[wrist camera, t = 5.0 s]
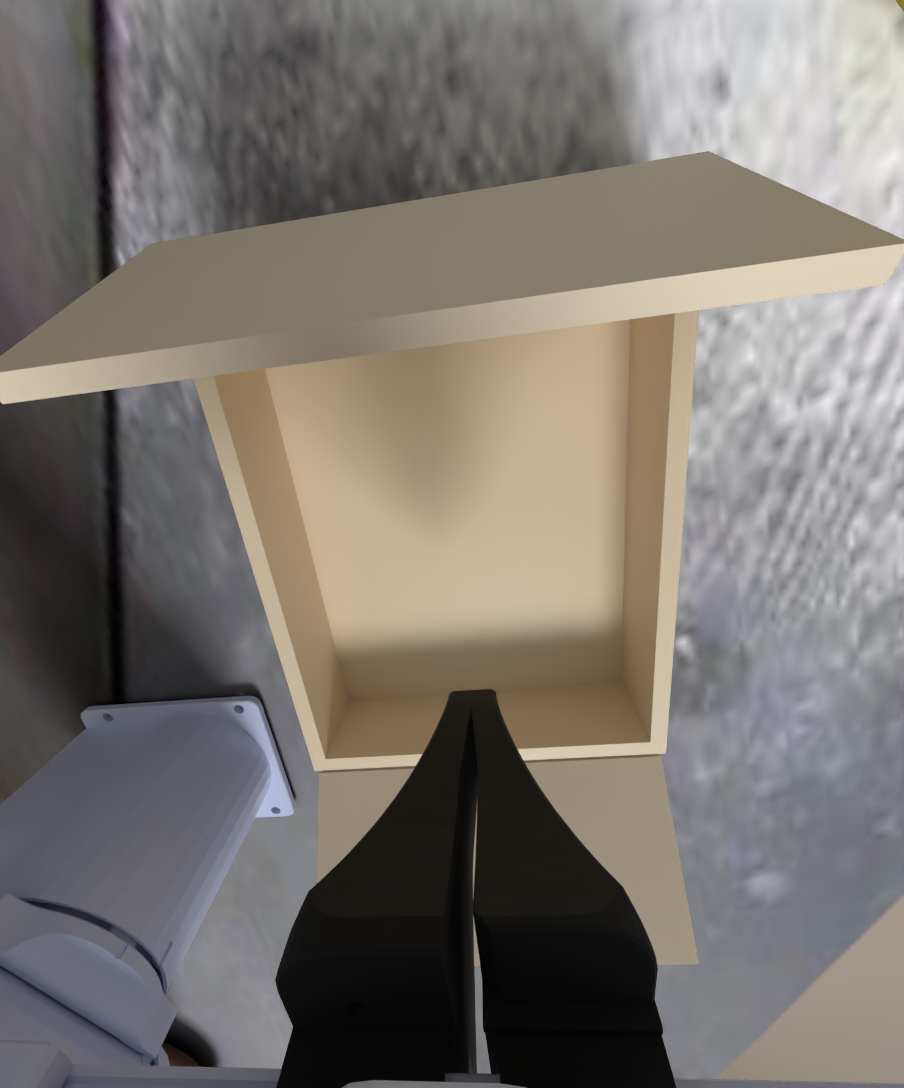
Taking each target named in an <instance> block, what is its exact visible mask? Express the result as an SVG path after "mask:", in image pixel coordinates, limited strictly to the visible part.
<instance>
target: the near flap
mask: <svg viewBox="0 0 904 1088" xmlns="http://www.w3.org/2000/svg"><path fill="white" fill-rule="evenodd" d="M903 254H904V239H901V238H899V237H897V236H895V235H892V234H890V233H888V232H886V231H884V230H881V229H879V228H877V227H875V226H873V225H870V224H868V223H866V222H864V221H862V220H859V219H857V218H855V217H853V216H850V215H848V214H846V213H844V212H842V211H839V210H837V209H835V208H833V207H831V206H828V205H826V204H824V203H822V202H819V201H817V200H815V199H813V198H811V197H808V196H806V195H804V194H802V193H800V192H797V191H795V190H793V189H791V188H789V187H786V186H784V185H782V184H780V183H777V182H775V181H773V180H771V179H769V178H766V177H764V176H762V175H760V174H758V173H755V172H753V171H751V170H749V169H747V168H744V167H742V166H740V165H738V164H735V163H733V162H731V161H729V160H727V159H724V158H722V157H720V156H718V155H716V154H713V153H711V152H709V151H708V152H702V153H696V154H690V155H684V156H678V157H672V158H666V159H660V160H654V161H648V162H642V163H636V164H630V165H623V166H617V167H611V168H605V169H599V170H593V171H587V172H581V173H575V174H569V175H563V176H557V177H551V178H545V179H539V180H533V181H527V182H521V183H515V184H509V185H503V186H497V187H491V188H485V189H479V190H473V191H467V192H461V193H455V194H449V195H443V196H437V197H431V198H425V199H419V200H412V201H406V202H400V203H394V204H388V205H382V206H376V207H370V208H364V209H358V210H352V211H346V212H340V213H334V214H328V215H322V216H316V217H310V218H304V219H298V220H292V221H286V222H280V223H274V224H268V225H262V226H256V227H250V228H244V229H238V230H232V231H226V232H220V233H214V234H208V235H201V236H195V237H189V238H183V239H177V240H171V241H165V242H159V243H153V244H151V245H149V246H148V247H147V248H145V249H144V250H143V251H141V252H140V253H139V254H137V255H136V256H135V257H133V258H132V259H131V260H129V261H128V262H126V263H125V264H124V265H122V266H121V267H120V268H118V269H117V270H116V271H114V272H113V273H112V274H110V275H109V276H108V277H106V278H105V279H104V280H102V281H101V282H99V283H98V284H97V285H95V286H94V287H93V288H91V289H90V290H89V291H87V292H86V293H85V294H83V295H82V296H81V297H79V298H78V299H77V300H75V301H74V302H73V303H71V304H70V305H68V306H67V307H66V308H64V309H63V310H62V311H60V312H59V313H58V314H56V315H55V316H54V317H52V318H51V319H50V320H48V321H47V322H46V323H44V324H43V325H42V326H40V327H39V328H37V329H36V330H35V331H33V332H32V333H31V334H29V335H28V336H27V337H25V338H24V339H23V340H21V341H20V342H19V343H17V344H16V345H15V346H13V347H12V348H11V349H9V350H8V351H6V352H5V353H4V354H2V355H1V356H0V402H1V403H2V404H8V403H16V402H23V401H31V400H38V399H45V398H53V397H60V396H68V395H75V394H82V393H90V392H97V391H104V390H112V389H119V388H127V387H134V386H141V385H149V384H156V383H164V382H171V381H178V380H186V379H193V378H200V377H208V376H215V375H223V374H230V373H237V372H245V371H252V370H260V369H267V368H274V367H282V366H289V365H296V364H304V363H311V362H319V361H326V360H333V359H341V358H348V357H356V356H363V355H370V354H378V353H385V352H392V351H400V350H407V349H415V348H422V347H429V346H437V345H444V344H452V343H459V342H466V341H474V340H481V339H488V338H496V337H503V336H511V335H518V334H525V333H533V332H540V331H548V330H555V329H562V328H570V327H577V326H584V325H592V324H599V323H607V322H614V321H621V320H629V319H636V318H643V317H651V316H658V315H666V314H673V313H680V312H688V311H695V310H703V309H710V308H717V307H725V306H732V305H739V304H747V303H754V302H762V301H769V300H776V299H784V298H791V297H799V296H806V295H813V294H821V293H828V292H835V291H843V290H850V289H858V288H865V287H872V286H880V285H885V284H886V282H887V281H888V279H889V277H890V276H891V274H892V272H893V271H894V269H895V267H896V266H897V264H898V262H899V261H900V259H901V257H902V255H903Z"/></svg>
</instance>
